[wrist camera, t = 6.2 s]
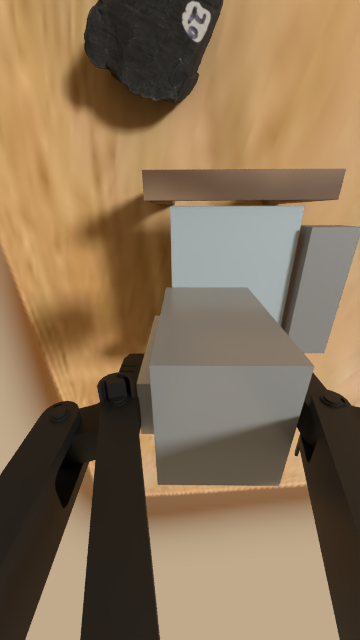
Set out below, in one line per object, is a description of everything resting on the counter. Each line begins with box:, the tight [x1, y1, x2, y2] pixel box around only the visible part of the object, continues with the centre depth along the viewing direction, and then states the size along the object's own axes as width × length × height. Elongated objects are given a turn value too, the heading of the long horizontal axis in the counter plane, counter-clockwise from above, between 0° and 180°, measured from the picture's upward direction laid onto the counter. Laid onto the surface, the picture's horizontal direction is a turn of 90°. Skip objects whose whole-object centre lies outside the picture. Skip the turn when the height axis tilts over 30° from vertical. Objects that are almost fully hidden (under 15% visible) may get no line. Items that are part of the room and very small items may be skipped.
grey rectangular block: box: [149, 287, 314, 486], centre depth 12 cm, size 6×5×8 cm
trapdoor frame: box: [142, 169, 346, 205], centre depth 27 cm, size 20×15×12 cm
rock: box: [84, 0, 223, 102], centre depth 21 cm, size 10×9×6 cm
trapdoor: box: [170, 206, 360, 353], centre depth 23 cm, size 15×16×3 cm
